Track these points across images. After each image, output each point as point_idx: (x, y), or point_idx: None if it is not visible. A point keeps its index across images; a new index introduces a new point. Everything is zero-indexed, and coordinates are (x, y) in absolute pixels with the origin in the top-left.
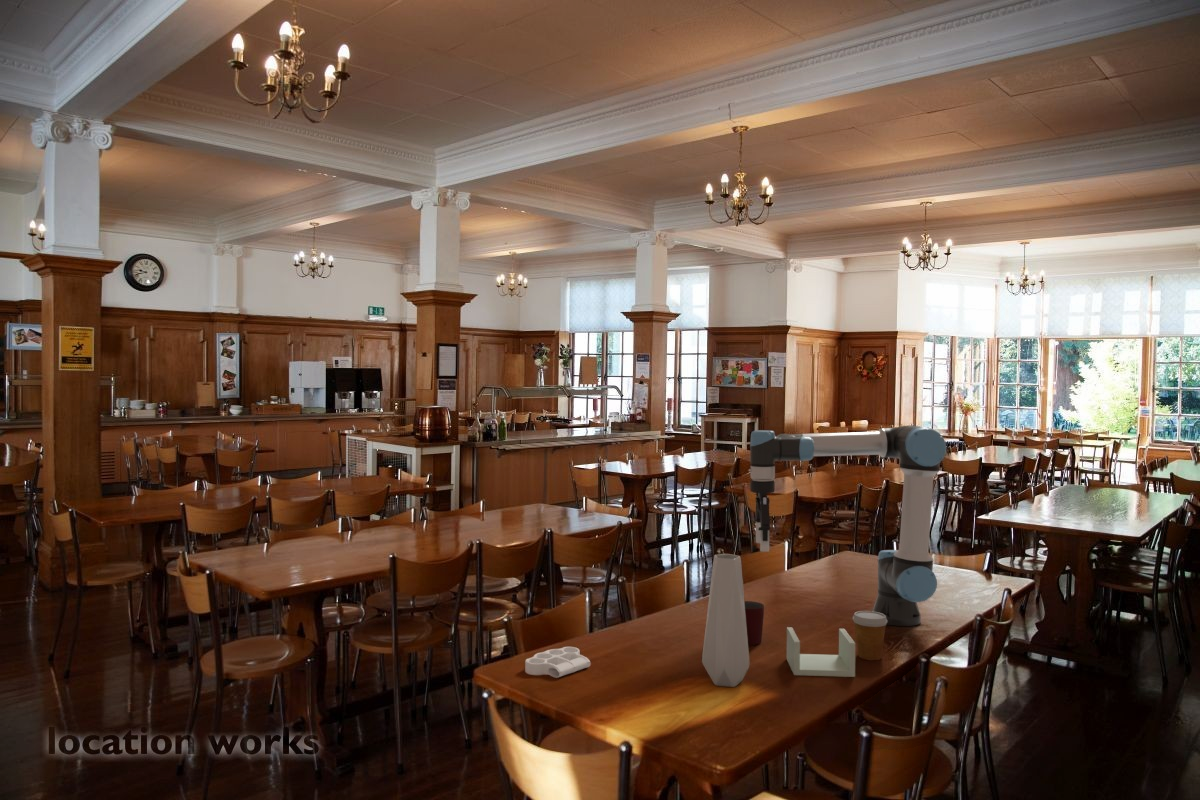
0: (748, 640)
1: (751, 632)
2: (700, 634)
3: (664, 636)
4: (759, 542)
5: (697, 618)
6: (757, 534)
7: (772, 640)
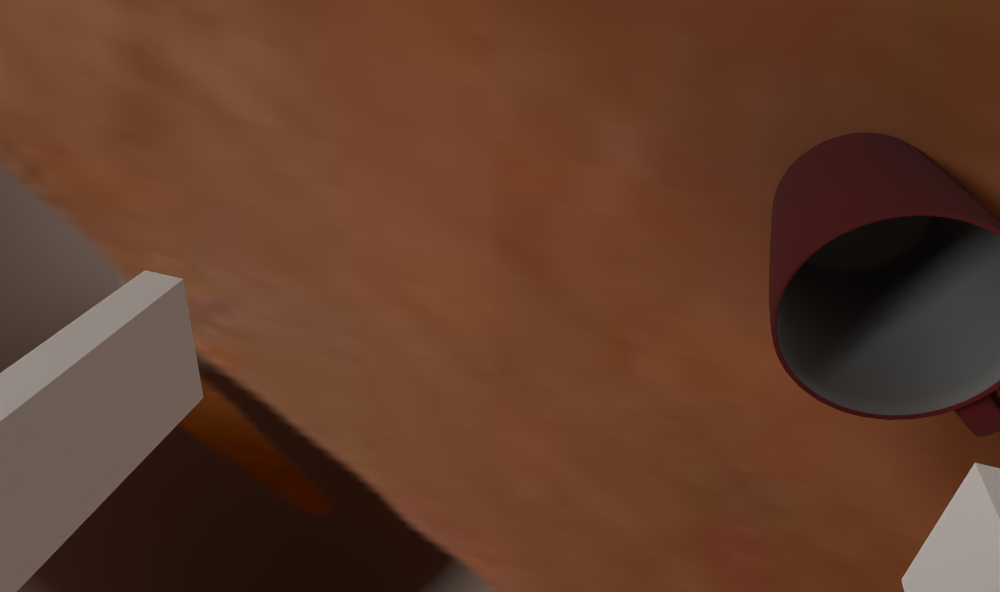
0: (937, 241)
1: (965, 249)
2: (676, 402)
3: (686, 537)
4: (189, 355)
5: (407, 345)
6: (96, 480)
7: (873, 49)
